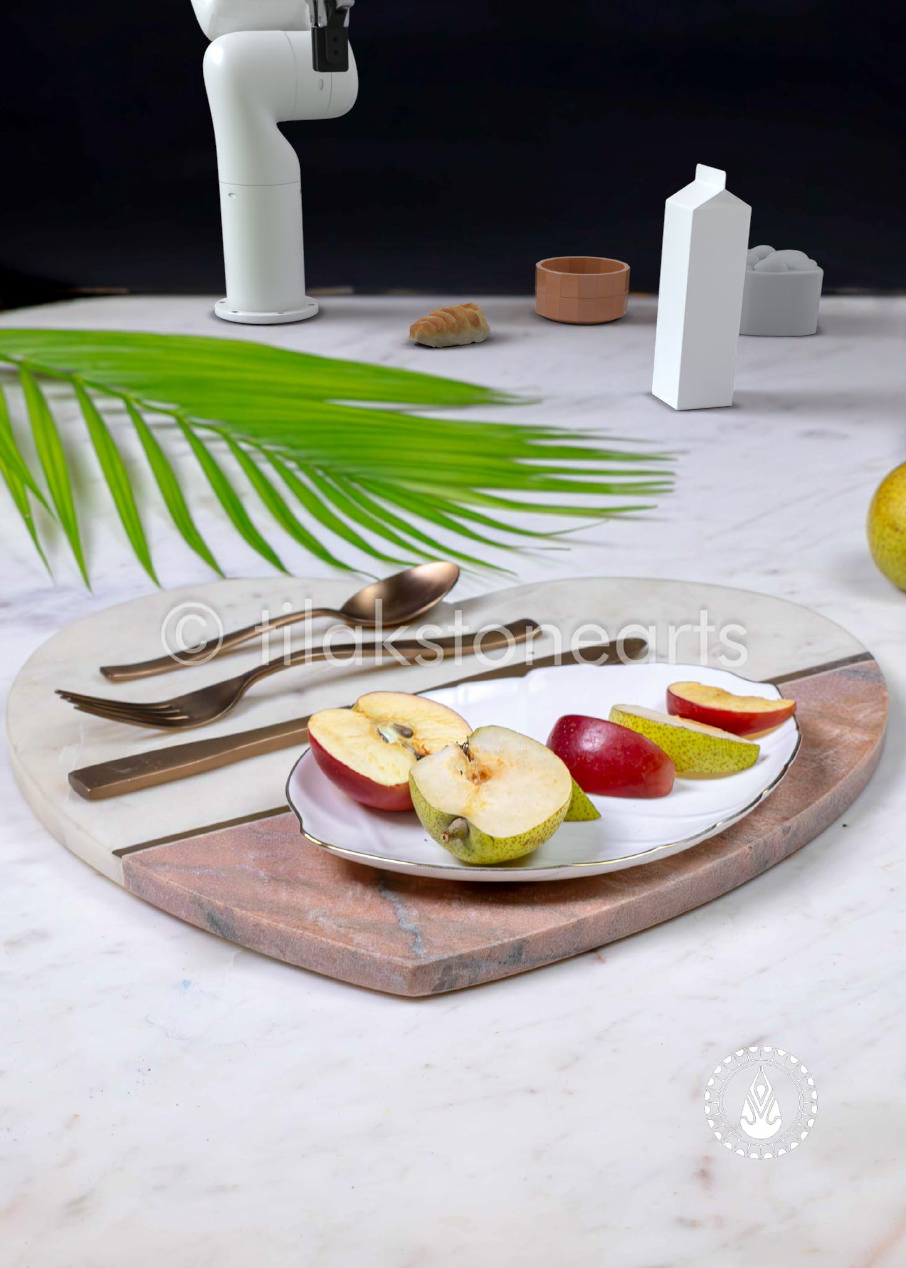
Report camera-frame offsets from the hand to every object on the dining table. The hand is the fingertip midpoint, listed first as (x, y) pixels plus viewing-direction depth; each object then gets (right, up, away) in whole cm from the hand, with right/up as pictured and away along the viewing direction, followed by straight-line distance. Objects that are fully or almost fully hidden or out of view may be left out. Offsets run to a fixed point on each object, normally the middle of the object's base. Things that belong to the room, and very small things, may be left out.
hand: (330, 71), depth 133 cm
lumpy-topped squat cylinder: (+49, -18, +30) cm, 60 cm away
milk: (+36, -32, +1) cm, 48 cm away
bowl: (+28, -16, +34) cm, 46 cm away
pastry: (+12, -22, +22) cm, 33 cm away
